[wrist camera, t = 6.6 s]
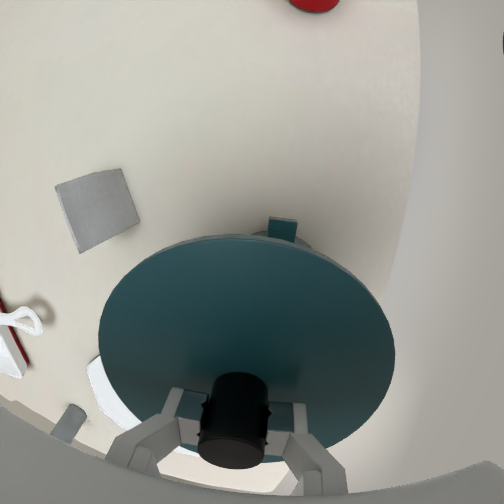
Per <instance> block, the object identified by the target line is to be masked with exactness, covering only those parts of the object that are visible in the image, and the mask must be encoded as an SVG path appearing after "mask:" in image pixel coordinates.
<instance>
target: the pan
mask: <svg viewBox="0 0 504 504" xmlns="http://www.w3.org/2000/svg"><path fill="white" fill-rule="evenodd" d="M23 316H29V317H30V318H31V319H32V321H33V322H34V325H35V326H34V327H33V328H31V327H29V326H27V325H25V324H23V323H20V322H18V321H17V320H16V319H18V318H21V317H23ZM12 326H14V327H17V328H19V329H21V330H22V331H24V332H26V333H28V334H29V335H32V336H36V337H38V336H41V334H42V330H43V328H42V324H41V321H40V319H39V318H38V316H37V315H36V314H35V312H34V311H32V310H31V309H30V308H28V307H25V306H21V307H19V308H18V309H17V310H15V311H14V312H12V313H8V314H6V313H5V310H4V308H3V305H2V303H1V300H0V372H1V373H4V374H7V375H9V376H12V377H15V378H18V379H22V378H23V375H24V373H25V371H26V369H27V366H28V359H27V357H26V355H25V353H24V351H23V349H22V347H21V345H20V343H19V341H18V339H17V337H16V335H15V333H14V331H13V329H12Z"/></svg>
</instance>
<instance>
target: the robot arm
mask: <svg viewBox="0 0 504 504" xmlns="http://www.w3.org/2000/svg"><path fill="white" fill-rule="evenodd" d="M208 402H209V394H207V393H202V392H197V391H192V390H187V389H182V388H177V387H172V389H171V390H170V393H169V395H168V398H167V400H166V402H165V405H164V407H163V410H162V412H161V414H158V413H157V414H155V415H154V416H152V417H150V418H149V419H147V420H145V421H144V422H142V423H140V424H138V425H137V426H135V427H133V428H131V429H130V430H128V431H126V432H124V433H123V434H121V435H119V436H117V437H115V439H114V441H113V443H112V445H111V447H110V449H109V451H108V453H107V455H106V457H105V459H102V458H99V457H97V456H94V455H92V454H89V453H87V452H85V451H83V450H80V449H78V448H76V447H74V446H72V445H70V444H67V443H65V442H63V441H61V440H59V439H57V438H55V437H54V436H52V435H50V434H48V433H46V432H44V431H42V430H41V429H39V428H37V427H35V426H34V425H32V424H30V423H28V422H27V421H25V420H24V419H22V418H20V417H19V416H17V415H16V414H14V413H13V412H11V411H10V410H8V409H7V408H5V407H4V406H2V405H1V404H0V504H504V470H503V469H502V468H500V467H499V466H497V465H496V464H494V463H492V462H490V461H482V462H479V463H477V464H474V465H472V466H469V467H466V468H463V469H460V470H457V471H454V472H451V473H448V474H445V475H442V476H438V477H435V478H431V479H427V480H423V481H420V482H415V483H411V484H406V485H402V486H397V487H392V488H386V489H381V490H374V491H366V492H360V493H349V494H348V489H347V481H346V474H345V469H344V468H343V467H342V465H341V464H339V462H338V461H337V460H336V459H335V458H334V457H333V456H332V455H331V454H330V453H329V452H328V451H327V450H326V449H325V448H324V447H323V445H322V444H321V443H320V442H319V441H318V440H317V439H316V438H315V437H314V436H313V435H312V434H308V425H307V413H306V405H305V403H289V402H273V401H268V404H267V415H266V420H267V422H266V432H265V455H275V456H282V458H283V459H284V461H285V462H286V464H287V465H288V467H289V468H290V470H291V471H292V473H293V474H294V476H295V477H296V478H297V480H298V481H299V482H298V484H297V485H296V487H295V489H294V490H293V492H292V494H291V495H290V496H277V495H260V494H248V493H238V492H230V491H223V490H216V489H210V488H204V487H198V486H193V485H188V484H184V483H179V482H175V481H171V480H167V479H163V478H161V476H160V473H159V470H158V467H157V463H158V462H159V461H161V460H162V459H163V458H164V457H166V456H167V455H168V454H169V453H171V452H172V451H173V450H174V449H175V448H177V447H178V446H179V445H180V444H181V443H185V444H191V445H197V444H198V441H199V437H200V433H201V429H202V425H203V422H204V418H205V414H206V410H207V406H208Z"/></svg>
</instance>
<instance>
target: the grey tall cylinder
mask: <svg viewBox="0 0 504 504" xmlns="http://www.w3.org/2000/svg"><path fill="white" fill-rule="evenodd" d="M85 419H86V414H85V412H84V411H83V410H82V409H81V408H79V407H78V406H76V405H73V404H71V405H69V407H68V408H67V410H66V411H65V413H64V414H63V415H62V417H61V418H60V420H59V421H58V423H57V424H56V426H55V427H54V429H53V431H52V432H51V433H50V435H52V436H54V437H55V438H57V439H59V440H61V441H63V442H65V443H67V444H71V442H72V441H73V439H74V437H75V436H76V434H77V432H78V431H79V429H80V427H81V426H82V424H83V422H84V421H85Z"/></svg>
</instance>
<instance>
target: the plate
mask: <svg viewBox="0 0 504 504" xmlns="http://www.w3.org/2000/svg"><path fill="white" fill-rule="evenodd" d="M87 374H88V377H89V380H90V383H91V386H92V389H93V392H94V395H95V397H96V400H97V403H98V405H99V408H100V409H101V410H102V412H103V413H104V414H105V415H107V416H108V417H109V418H110V419H112V420H113V421H114V422H115V423H117V424H118V425H119V426H120V427H122V428H123V429H124V430H126V431H128V430H130V429H131V428H133V427H135V426H137V425H138V424H140V423H142V422H141V421H140V420H139V419H138V418H137V417H136V416H135V415H134V414H133V413H132V412H131V411H130V410H129V409H128V408H127V407H126V406H125V405H124V403H123V402H122V401H121V400H120V398H119V397H118V395H117V394H116V392H115V391H114V389H113V388H112V386H111V384H110V382H109V380H108V378H107V376H106V373H105V371H104V368H103V365H102V362H101V357H100V356H98V357H97V358H96V359H95V360H93V361H92V362H91V363H90V364H89V365H87ZM173 452H177V453H182V454H186V455H191V456H200V455H199V454H198V453H195V452H193V451H190V450H187V449H185V448H183V447H180V446H178V447H177V448H175V449H174V450H173Z"/></svg>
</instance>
